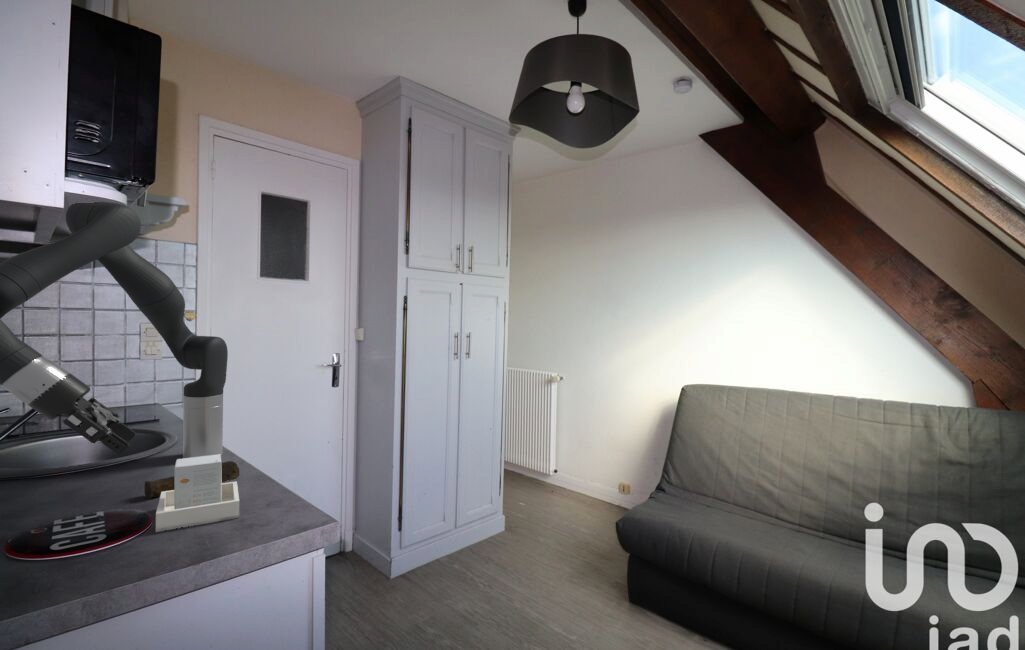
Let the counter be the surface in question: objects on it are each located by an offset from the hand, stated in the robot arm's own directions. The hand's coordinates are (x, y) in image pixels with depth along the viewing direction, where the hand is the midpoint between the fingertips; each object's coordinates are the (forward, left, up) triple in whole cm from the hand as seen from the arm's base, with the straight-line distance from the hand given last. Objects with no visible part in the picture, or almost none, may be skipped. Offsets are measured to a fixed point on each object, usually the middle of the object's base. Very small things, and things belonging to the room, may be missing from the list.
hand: (128, 443), depth 93 cm
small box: (0, +11, -15) cm, 19 cm away
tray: (0, +12, -16) cm, 19 cm away
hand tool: (-17, +10, -16) cm, 26 cm away
